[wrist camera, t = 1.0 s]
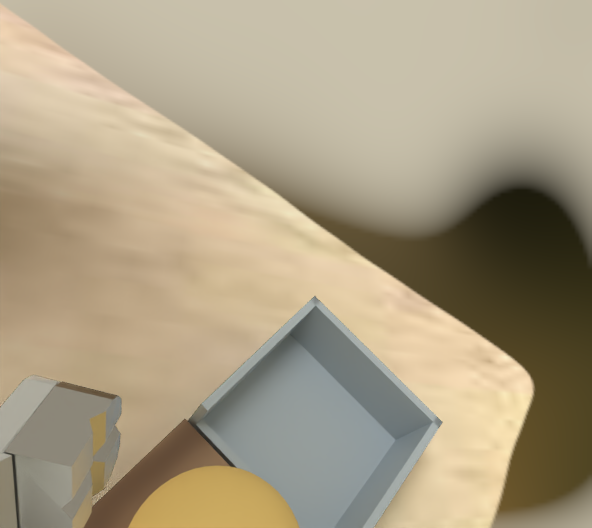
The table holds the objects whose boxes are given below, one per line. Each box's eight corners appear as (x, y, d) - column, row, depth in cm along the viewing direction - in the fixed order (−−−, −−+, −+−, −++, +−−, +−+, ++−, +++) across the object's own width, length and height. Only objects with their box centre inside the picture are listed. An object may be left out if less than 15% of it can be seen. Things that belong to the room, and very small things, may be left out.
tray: (182, 428, 42) (201, 404, 37) (287, 326, 49) (314, 295, 44) (314, 567, 40) (351, 561, 36) (402, 441, 48) (442, 422, 43)
